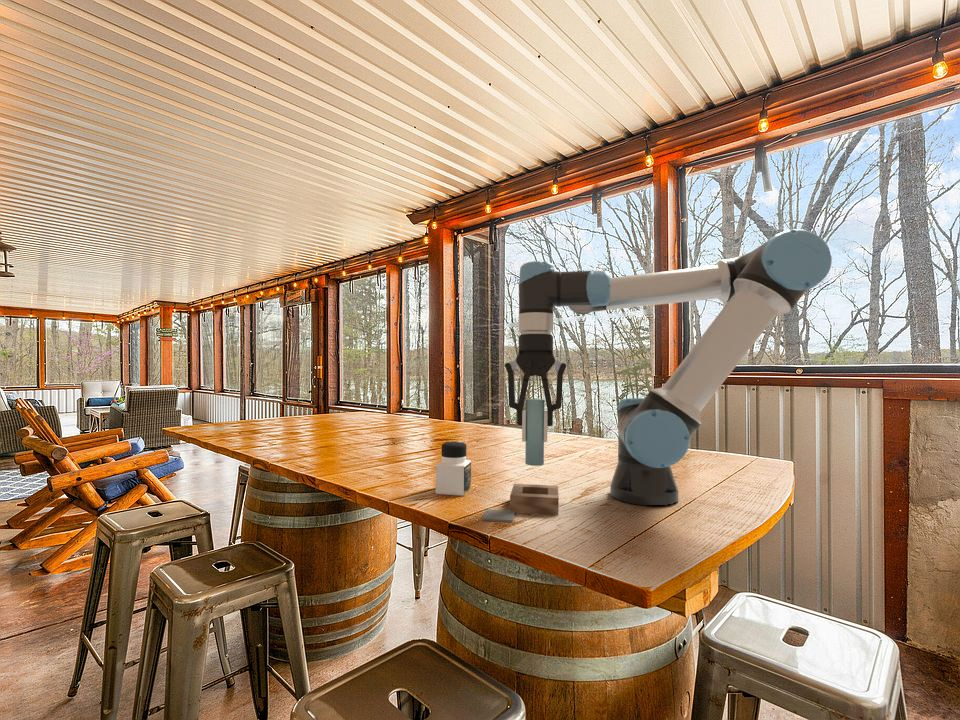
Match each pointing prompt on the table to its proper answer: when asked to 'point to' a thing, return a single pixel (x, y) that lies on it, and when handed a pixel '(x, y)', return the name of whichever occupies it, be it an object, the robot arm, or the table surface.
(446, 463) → the medicine bottle
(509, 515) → the coaster
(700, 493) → the table surface
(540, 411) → the peg
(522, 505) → the socket block
